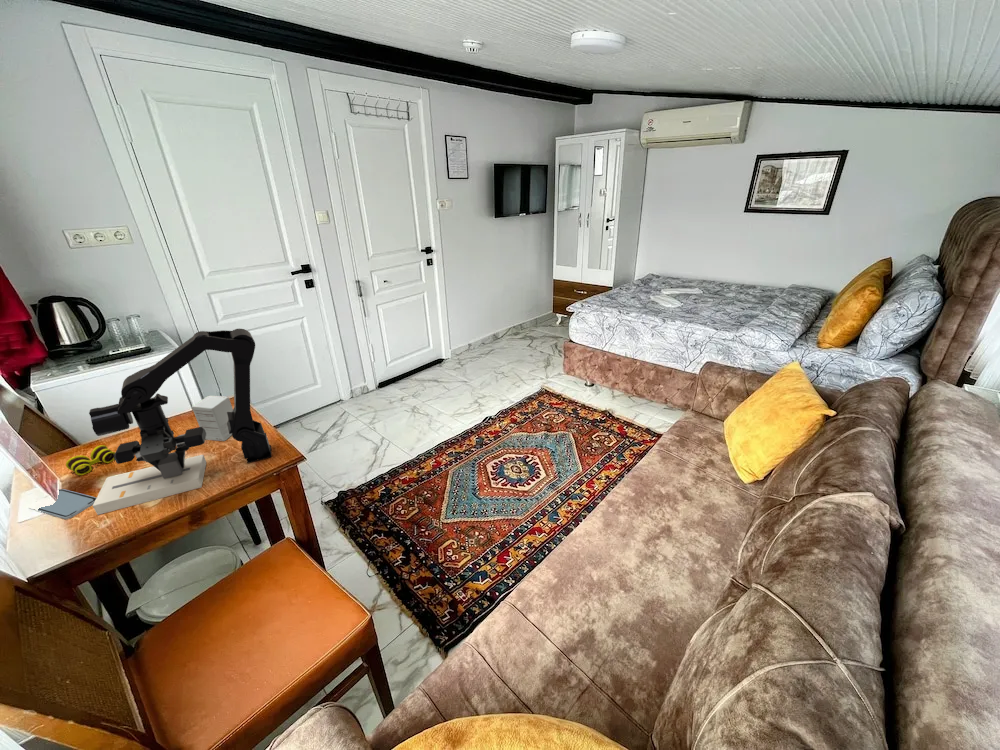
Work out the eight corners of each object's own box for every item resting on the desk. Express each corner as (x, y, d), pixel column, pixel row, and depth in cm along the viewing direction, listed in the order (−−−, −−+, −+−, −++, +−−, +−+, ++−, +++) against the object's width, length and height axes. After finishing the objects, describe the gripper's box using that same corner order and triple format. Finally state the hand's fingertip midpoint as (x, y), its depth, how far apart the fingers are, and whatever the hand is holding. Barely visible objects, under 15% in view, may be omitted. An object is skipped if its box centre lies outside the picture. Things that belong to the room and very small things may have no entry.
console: (206, 462, 121) (203, 454, 120) (201, 487, 112) (197, 478, 110) (111, 485, 112) (107, 477, 111) (97, 514, 102) (92, 505, 101)
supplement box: (220, 427, 138) (208, 394, 132) (240, 429, 137) (229, 396, 132) (203, 439, 132) (190, 406, 126) (224, 441, 131) (212, 408, 125)
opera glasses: (79, 480, 116) (73, 467, 113) (68, 472, 117) (62, 459, 114) (120, 460, 123) (115, 448, 121) (109, 453, 125) (104, 441, 122)
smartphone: (60, 488, 111) (99, 498, 107) (62, 490, 111) (101, 500, 107) (25, 507, 104) (66, 518, 101) (27, 509, 105) (67, 521, 101)
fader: (184, 464, 115) (179, 451, 113) (181, 474, 111) (176, 461, 109) (167, 468, 114) (161, 455, 112) (163, 478, 110) (157, 465, 108)
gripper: (95, 448, 95) (122, 499, 102) (191, 427, 103) (210, 476, 110) (109, 425, 104) (133, 473, 111) (197, 407, 112) (214, 453, 118)
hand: (173, 469), depth 112 cm, fingers closed on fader, 4 cm apart
